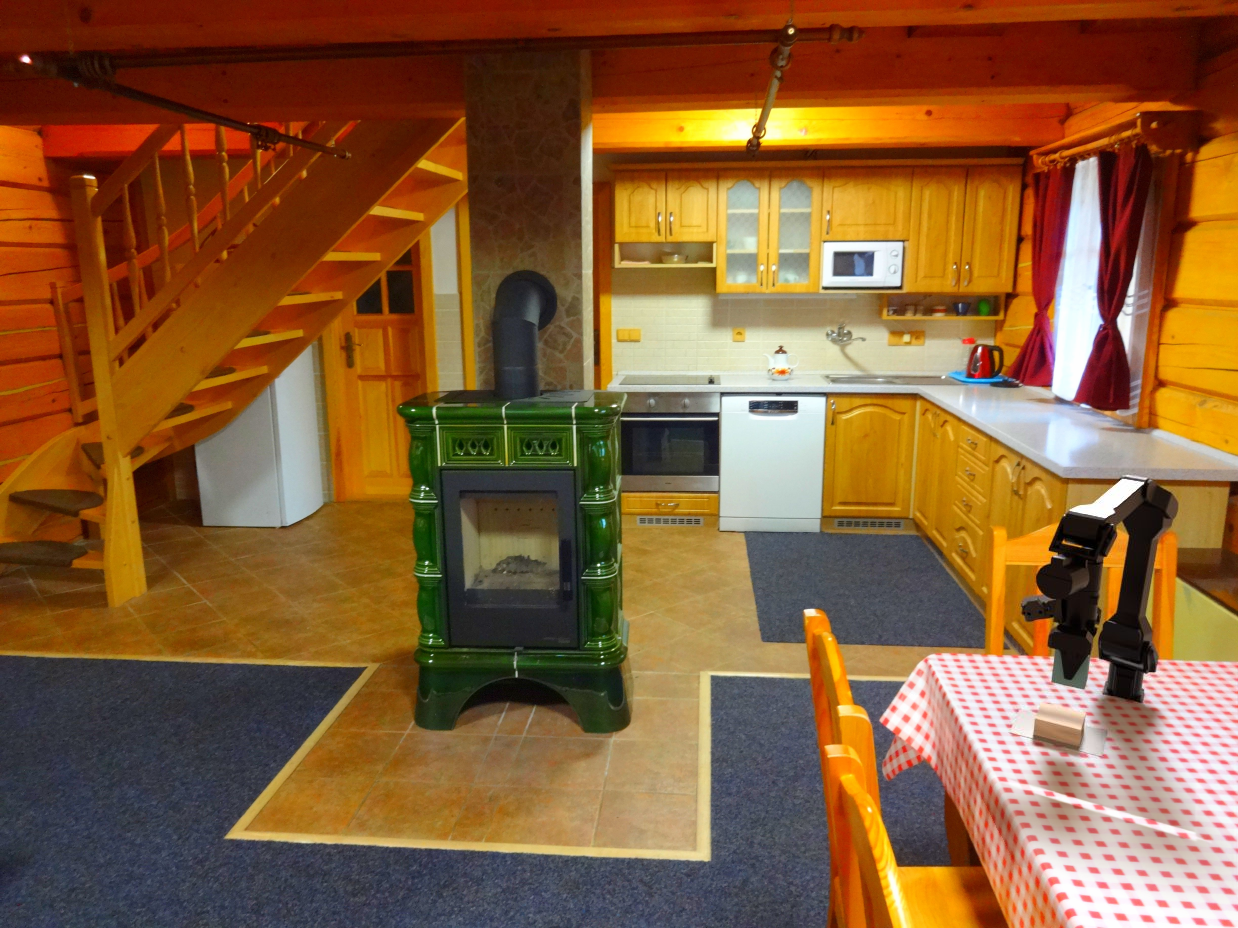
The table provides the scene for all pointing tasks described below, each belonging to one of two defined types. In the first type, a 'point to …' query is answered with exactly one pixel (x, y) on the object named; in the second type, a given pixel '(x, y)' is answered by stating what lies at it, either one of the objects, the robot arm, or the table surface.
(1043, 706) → the maple base block
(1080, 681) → the teal block
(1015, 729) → the baseplate
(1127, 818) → the table surface
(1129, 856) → the table surface
